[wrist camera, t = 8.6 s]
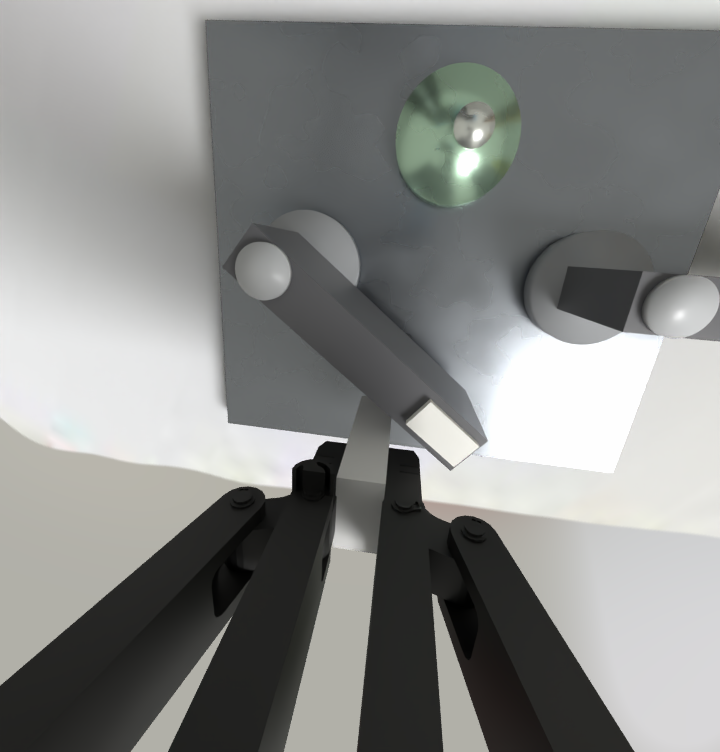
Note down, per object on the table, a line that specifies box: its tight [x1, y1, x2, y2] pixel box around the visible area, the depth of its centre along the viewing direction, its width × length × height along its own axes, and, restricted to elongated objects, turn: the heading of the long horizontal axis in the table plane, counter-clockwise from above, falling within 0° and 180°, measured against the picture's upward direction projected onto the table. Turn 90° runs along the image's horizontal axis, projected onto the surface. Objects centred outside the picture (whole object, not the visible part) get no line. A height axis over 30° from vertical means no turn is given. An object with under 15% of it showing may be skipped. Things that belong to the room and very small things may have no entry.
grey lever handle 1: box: [222, 210, 488, 471], centre depth 15 cm, size 12×5×6 cm, turn 48°
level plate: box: [206, 20, 720, 473], centre depth 17 cm, size 22×19×2 cm
